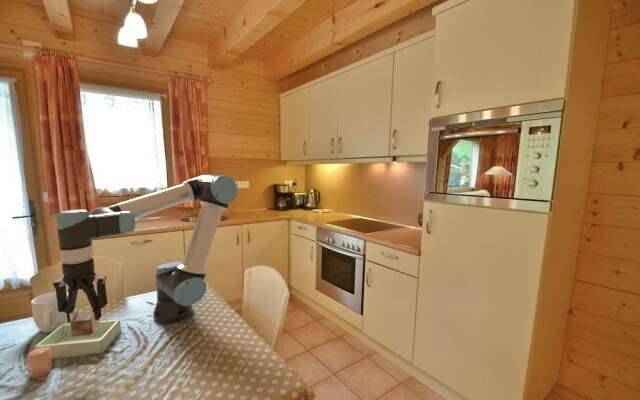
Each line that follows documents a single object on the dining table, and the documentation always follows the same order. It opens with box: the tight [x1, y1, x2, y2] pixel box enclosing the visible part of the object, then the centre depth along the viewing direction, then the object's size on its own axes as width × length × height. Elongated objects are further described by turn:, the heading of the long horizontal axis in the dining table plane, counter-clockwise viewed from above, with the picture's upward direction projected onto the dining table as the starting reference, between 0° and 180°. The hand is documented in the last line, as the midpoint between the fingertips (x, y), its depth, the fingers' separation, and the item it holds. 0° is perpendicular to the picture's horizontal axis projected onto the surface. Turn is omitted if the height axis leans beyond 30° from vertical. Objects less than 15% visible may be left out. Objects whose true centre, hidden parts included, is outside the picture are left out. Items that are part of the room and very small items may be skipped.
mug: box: [30, 291, 69, 333], centre depth 110 cm, size 15×11×13 cm
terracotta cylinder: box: [27, 347, 53, 379], centre depth 89 cm, size 5×5×7 cm
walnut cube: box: [69, 311, 94, 337], centre depth 90 cm, size 5×5×5 cm
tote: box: [33, 319, 122, 360], centre depth 102 cm, size 20×14×5 cm
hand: (86, 329), depth 90 cm, fingers closed on walnut cube, 5 cm apart
